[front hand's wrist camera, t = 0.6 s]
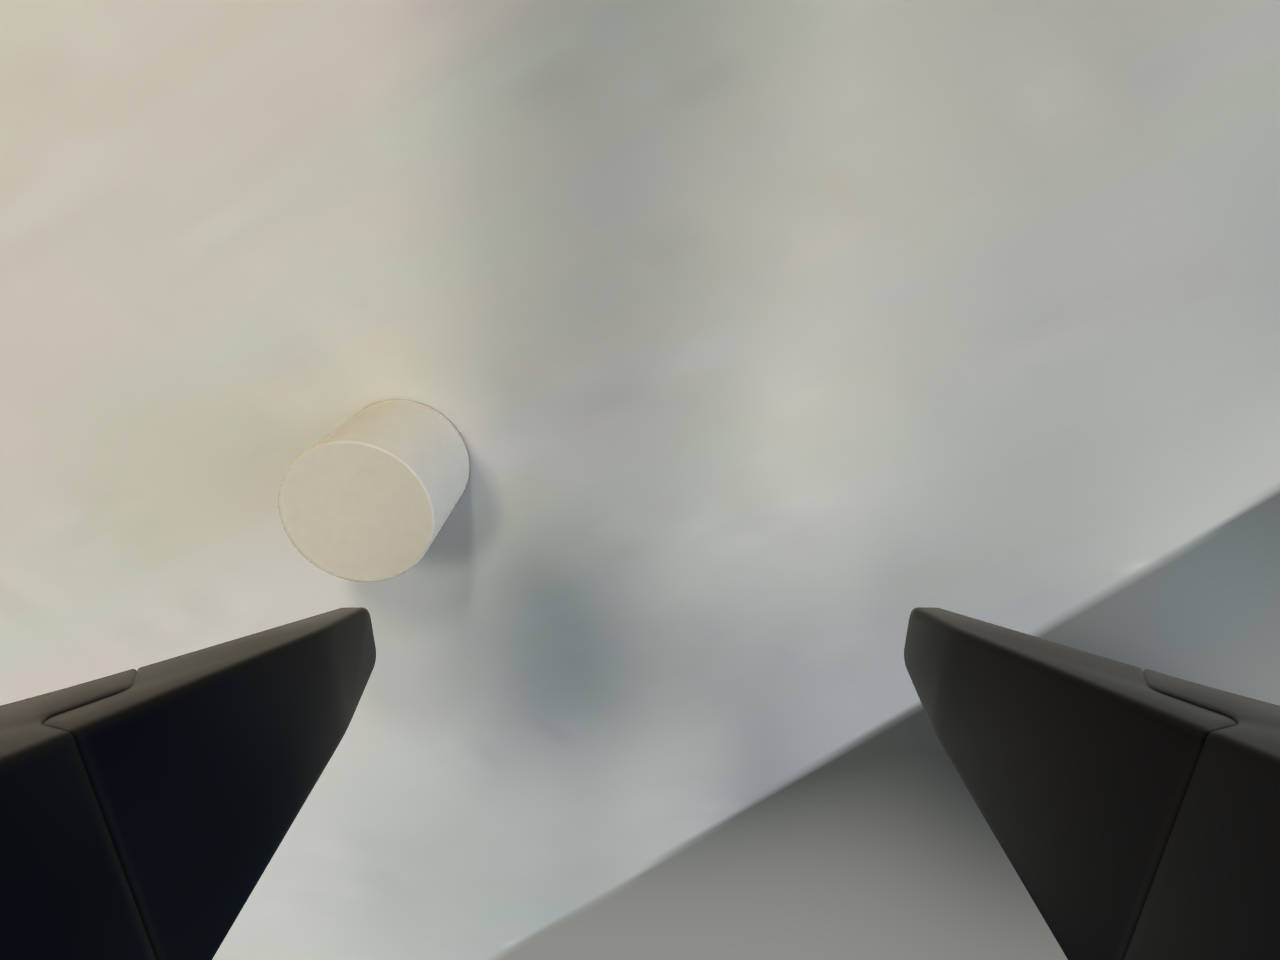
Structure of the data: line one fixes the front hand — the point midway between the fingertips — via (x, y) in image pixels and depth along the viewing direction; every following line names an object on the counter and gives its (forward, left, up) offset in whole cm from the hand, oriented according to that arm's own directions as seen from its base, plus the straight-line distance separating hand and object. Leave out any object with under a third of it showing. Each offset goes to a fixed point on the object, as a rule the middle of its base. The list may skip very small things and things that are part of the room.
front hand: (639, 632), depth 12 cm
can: (-1, -7, -11) cm, 13 cm away
